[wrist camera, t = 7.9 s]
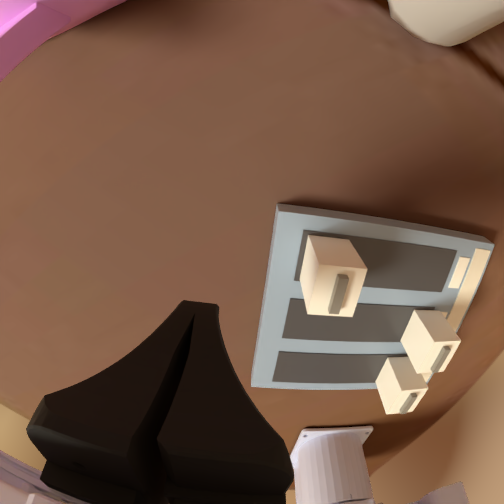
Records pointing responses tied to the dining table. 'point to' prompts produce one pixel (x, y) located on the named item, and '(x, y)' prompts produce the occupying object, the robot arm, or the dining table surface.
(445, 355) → the tab middle
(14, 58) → the teakettle
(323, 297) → the tab
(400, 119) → the dining table surface
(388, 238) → the switch bank
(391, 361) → the tab
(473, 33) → the salt shaker
